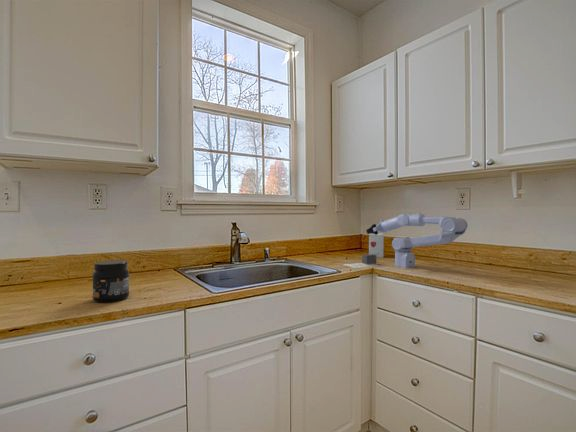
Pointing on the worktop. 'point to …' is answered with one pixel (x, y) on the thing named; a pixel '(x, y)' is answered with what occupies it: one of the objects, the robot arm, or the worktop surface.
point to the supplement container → (110, 281)
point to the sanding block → (369, 259)
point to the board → (359, 265)
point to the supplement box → (376, 244)
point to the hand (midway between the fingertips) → (371, 230)
